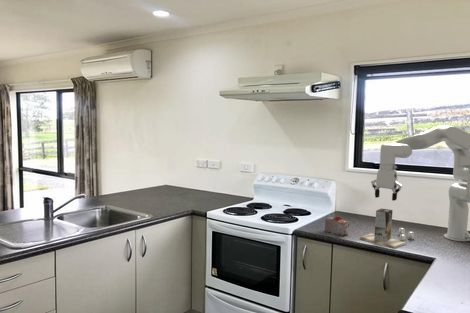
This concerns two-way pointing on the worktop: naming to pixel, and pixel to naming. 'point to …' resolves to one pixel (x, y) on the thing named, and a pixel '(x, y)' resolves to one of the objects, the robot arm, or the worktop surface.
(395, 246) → the board
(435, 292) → the worktop surface
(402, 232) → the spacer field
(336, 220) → the food item
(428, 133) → the robot arm
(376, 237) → the coffee box
